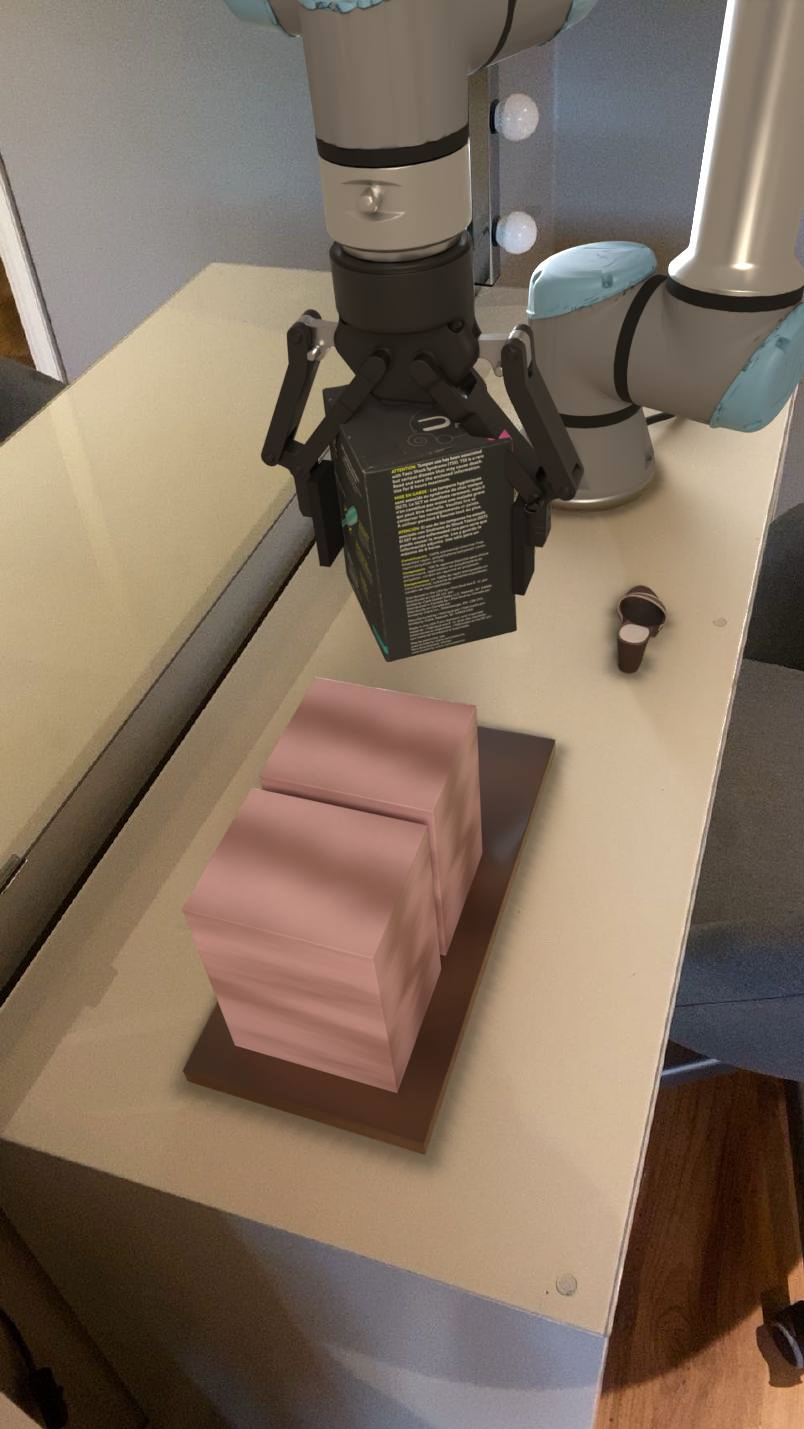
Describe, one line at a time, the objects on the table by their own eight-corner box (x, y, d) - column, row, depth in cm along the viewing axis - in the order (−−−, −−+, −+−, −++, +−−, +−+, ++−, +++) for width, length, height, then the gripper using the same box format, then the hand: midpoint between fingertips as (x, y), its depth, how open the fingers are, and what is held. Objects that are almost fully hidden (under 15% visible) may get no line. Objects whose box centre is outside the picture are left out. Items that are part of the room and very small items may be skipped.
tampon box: (519, 635, 69) (520, 437, 59) (385, 668, 68) (362, 472, 58) (466, 544, 77) (458, 355, 67) (344, 573, 76) (318, 384, 65)
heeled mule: (671, 603, 97) (676, 569, 94) (654, 682, 89) (658, 648, 87) (623, 596, 98) (626, 563, 95) (602, 674, 91) (604, 640, 88)
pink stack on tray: (370, 717, 89) (347, 559, 78) (555, 752, 85) (560, 590, 73) (187, 1081, 67) (117, 936, 55) (425, 1155, 62) (403, 1013, 51)
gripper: (155, 250, 55) (233, 576, 70) (626, 277, 48) (600, 632, 63) (218, 199, 60) (278, 514, 75) (653, 217, 53) (623, 560, 68)
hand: (425, 568), depth 69 cm, fingers closed on tampon box, 12 cm apart
